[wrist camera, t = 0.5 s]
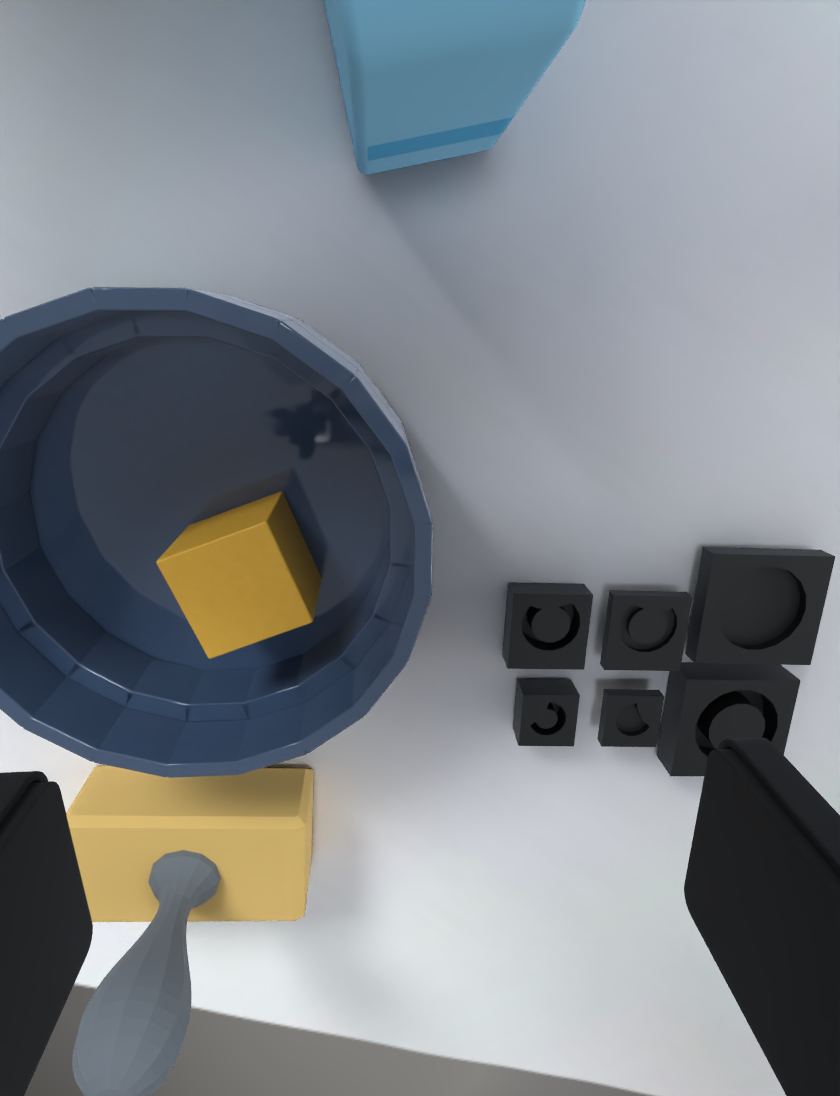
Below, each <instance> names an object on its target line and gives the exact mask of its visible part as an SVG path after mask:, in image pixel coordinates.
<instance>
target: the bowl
mask: <svg viewBox="0 0 840 1096" xmlns="http://www.w3.org/2000/svg"><path fill="white" fill-rule="evenodd" d="M280 491H281V492H283V494H284V496H285V498H286V500H287V502H288V505H289V507H290V509H291V511H292V514H293V516H294V518H295V520H296V522H297V525H298V527H299V529H300V531H301V534H302V536H303V538H304V540H305V542H306V545H307V547H308V549H309V551H310V554H311V556H312V558H313V560H314V562H315V565H316V567H317V569H318V571H319V574H320V576H321V578H322V580H321V585H320V590H319V595H318V600H317V605H316V610H315V615H314V620H313V622H312V623H310V624H307V625H304V626H301V627H298V628H296V629H293V630H290V631H287V632H284V633H282V634H279V635H276V636H273V637H270V638H268V639H265V640H262V641H259V642H256V643H253V644H251V645H248V646H245V647H242V648H239V649H237V650H234V651H231V652H228V653H225V654H223V655H220V656H217V657H214V658H211V659H209V658H208V657H207V655H206V653H205V651H204V649H203V647H202V646H201V644H200V642H199V640H198V638H197V637H196V635H195V633H194V631H193V629H192V627H191V626H190V624H189V622H188V620H187V618H186V616H185V615H184V613H183V611H182V609H181V607H180V605H179V604H178V602H177V600H176V598H175V596H174V594H173V593H172V591H171V589H170V587H169V585H168V583H167V582H166V580H165V578H164V576H163V574H162V573H161V571H160V569H159V567H158V565H157V563H156V561H157V560H158V559H159V558H160V557H161V556H162V555H163V553H164V552H165V551H166V550H167V549H168V548H169V547H170V546H171V545H172V543H173V542H174V541H175V540H176V539H177V538H178V537H179V536H180V534H181V533H182V532H183V531H184V530H185V529H186V528H187V527H188V526H189V525H191V524H194V523H196V522H199V521H202V520H204V519H207V518H210V517H212V516H215V515H218V514H221V513H223V512H226V511H229V510H231V509H234V508H237V507H240V506H242V505H245V504H248V503H250V502H253V501H256V500H259V499H261V498H264V497H267V496H269V495H272V494H275V493H278V492H280ZM432 557H433V523H432V518H431V514H430V511H429V507H428V504H427V500H426V497H425V493H424V490H423V487H422V483H421V480H420V477H419V474H418V471H417V468H416V465H415V461H414V458H413V455H412V452H411V449H410V446H409V443H408V440H407V437H406V434H405V431H404V428H403V425H402V423H401V421H400V418H399V417H398V416H397V414H396V413H395V412H394V410H393V409H392V407H391V406H390V405H389V403H388V402H387V401H386V399H385V398H384V396H383V395H382V394H381V392H380V391H379V389H378V388H377V387H376V385H375V384H374V383H373V381H372V380H371V378H370V377H369V376H368V374H367V373H366V372H365V370H364V369H363V367H362V366H361V365H359V363H358V362H357V361H356V360H354V359H353V358H352V357H350V356H349V355H347V354H346V353H345V352H343V351H342V350H341V349H339V348H338V347H337V346H335V345H334V344H333V343H331V342H330V341H329V340H327V339H326V338H324V337H323V336H322V335H320V334H319V333H318V332H316V331H315V330H314V329H312V328H311V327H310V326H308V325H307V324H306V323H304V322H303V321H302V320H299V319H298V318H295V317H292V316H289V315H286V314H283V313H280V312H277V311H274V310H271V309H268V308H265V307H263V306H260V305H257V304H254V303H251V302H248V301H245V300H242V299H239V298H236V297H233V296H230V295H225V294H219V293H212V292H207V291H200V290H194V289H188V288H135V287H93V288H87V289H84V290H81V291H78V292H75V293H72V294H69V295H67V296H64V297H61V298H58V299H55V300H52V301H49V302H46V303H44V304H41V305H38V306H35V307H32V308H29V309H26V310H24V311H21V312H18V313H15V314H12V315H9V316H6V317H5V318H4V319H1V320H0V709H1V710H2V711H3V712H4V713H6V714H7V715H8V716H9V717H10V718H11V719H13V720H14V721H15V722H16V723H17V724H18V725H20V726H21V727H23V728H24V729H25V730H28V731H30V732H32V733H34V734H36V735H38V736H40V737H42V738H44V739H46V740H48V741H50V742H52V743H54V744H56V745H58V746H60V747H62V748H64V749H67V750H69V751H71V752H73V753H75V754H77V755H79V756H81V757H83V758H85V759H87V760H89V761H94V762H95V763H99V764H104V765H109V766H113V767H118V768H123V769H128V770H132V771H137V772H142V773H147V774H151V775H156V776H161V777H168V778H175V777H201V776H226V775H239V774H245V773H248V772H251V771H254V770H258V769H261V768H264V767H267V766H270V765H274V764H277V763H280V762H283V761H286V760H290V759H293V758H296V757H299V756H303V755H306V754H307V753H310V752H311V751H313V750H314V749H316V748H317V747H319V746H320V745H322V744H323V743H325V742H326V741H328V740H329V739H331V738H332V737H334V736H335V735H337V734H338V733H340V732H341V731H343V730H344V729H346V728H347V727H349V726H350V725H352V724H353V723H355V722H357V721H358V720H360V719H361V718H363V717H364V715H366V714H367V713H368V711H369V710H370V709H371V708H372V706H373V705H374V704H375V703H376V701H377V700H378V699H379V698H380V697H381V695H382V694H383V693H384V692H385V690H386V689H387V688H388V687H389V685H390V684H391V683H392V682H393V680H394V679H395V678H396V677H397V675H398V674H399V673H400V672H401V670H402V669H403V668H404V667H405V665H406V664H407V662H408V661H409V658H410V655H411V653H412V650H413V647H414V644H415V642H416V639H417V636H418V634H419V631H420V628H421V625H422V623H423V620H424V617H425V614H426V612H427V609H428V606H429V603H430V601H431V596H432Z"/></svg>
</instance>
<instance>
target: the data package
mask: <svg viewBox="0 0 840 1096" xmlns="http://www.w3.org/2000/svg"><path fill="white" fill-rule="evenodd" d="M324 3H325V8H326V13H327V18H328V23H329V28H330V33H331V38H332V43H333V48H334V54H335V59H336V64H337V69H338V74H339V79H340V84H341V89H342V94H343V99H344V104H345V109H346V114H347V120H348V125H349V130H350V135H351V140H352V145H353V149H354V154H355V159H356V163H357V167H358V169H359V171H360V172H361V173H362V174H365V175H368V174H373V173H378V172H383V171H388V170H393V169H398V168H402V167H407V166H412V165H417V164H422V163H427V162H432V161H437V160H442V159H447V158H452V157H456V156H461V155H466V154H471V153H476V152H481V151H486V150H489V149H491V148H492V147H493V146H494V144H495V143H496V141H497V140H498V138H499V137H500V136H501V134H502V133H503V131H504V130H505V128H506V127H507V125H508V124H509V123H510V121H511V120H512V118H513V117H514V115H515V114H516V112H517V111H518V110H519V108H520V107H521V105H522V104H523V102H524V101H525V99H526V98H527V97H528V95H529V94H530V92H531V91H532V89H533V88H534V87H535V85H536V84H537V82H538V81H539V79H540V78H541V76H542V75H543V74H544V72H545V71H546V69H547V68H548V66H549V65H550V63H551V62H552V61H553V59H554V58H555V56H556V55H557V53H558V52H559V51H560V49H561V48H562V46H563V45H564V43H565V42H566V40H567V39H568V38H569V36H570V35H571V33H572V32H573V30H574V28H575V27H576V25H577V23H578V21H579V18H580V16H581V13H582V10H583V7H584V3H585V0H324Z"/></svg>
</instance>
